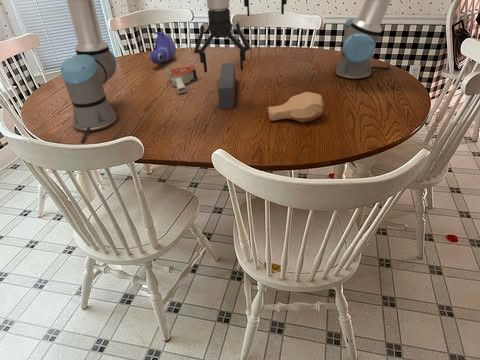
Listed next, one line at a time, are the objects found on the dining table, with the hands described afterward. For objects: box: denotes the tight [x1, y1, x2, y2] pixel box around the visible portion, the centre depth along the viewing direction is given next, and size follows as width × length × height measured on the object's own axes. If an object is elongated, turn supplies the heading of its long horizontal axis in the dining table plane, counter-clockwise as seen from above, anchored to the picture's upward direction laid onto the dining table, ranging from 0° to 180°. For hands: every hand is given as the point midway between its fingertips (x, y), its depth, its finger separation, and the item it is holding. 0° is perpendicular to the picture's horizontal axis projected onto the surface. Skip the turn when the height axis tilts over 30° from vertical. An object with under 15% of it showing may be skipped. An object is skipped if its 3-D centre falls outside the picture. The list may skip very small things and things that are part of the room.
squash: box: [266, 91, 325, 123], centre depth 125 cm, size 11×20×9 cm, turn 92°
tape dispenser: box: [166, 65, 198, 94], centre depth 159 cm, size 18×5×20 cm
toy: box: [148, 31, 177, 69], centre depth 182 cm, size 10×17×25 cm
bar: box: [217, 62, 237, 109], centre depth 147 cm, size 29×6×8 cm, turn 179°
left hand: (223, 70), depth 133 cm, fingers open, 13 cm apart
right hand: (265, 14), depth 142 cm, fingers open, 13 cm apart
